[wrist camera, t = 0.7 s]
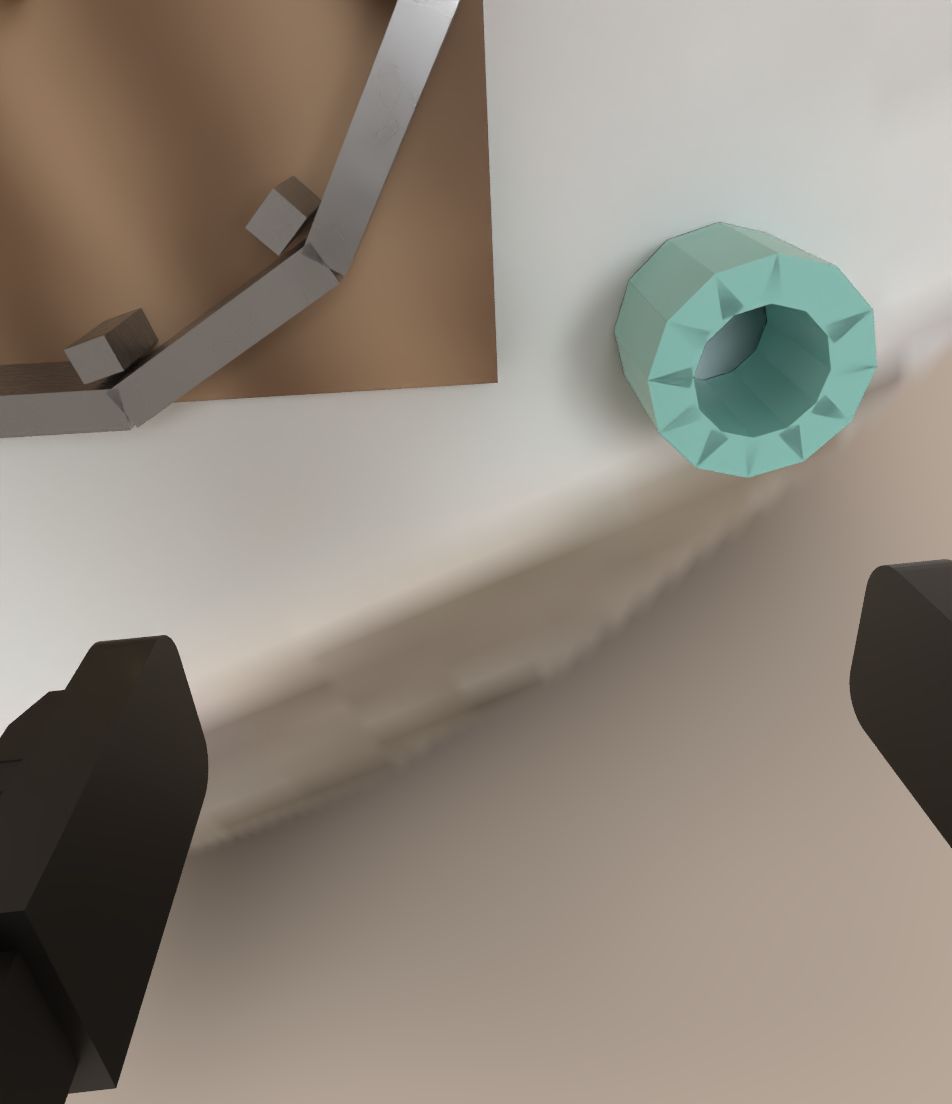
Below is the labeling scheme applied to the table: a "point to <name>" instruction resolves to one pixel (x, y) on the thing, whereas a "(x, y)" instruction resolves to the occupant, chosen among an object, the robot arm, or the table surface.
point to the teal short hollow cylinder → (769, 372)
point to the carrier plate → (237, 186)
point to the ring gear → (266, 299)
